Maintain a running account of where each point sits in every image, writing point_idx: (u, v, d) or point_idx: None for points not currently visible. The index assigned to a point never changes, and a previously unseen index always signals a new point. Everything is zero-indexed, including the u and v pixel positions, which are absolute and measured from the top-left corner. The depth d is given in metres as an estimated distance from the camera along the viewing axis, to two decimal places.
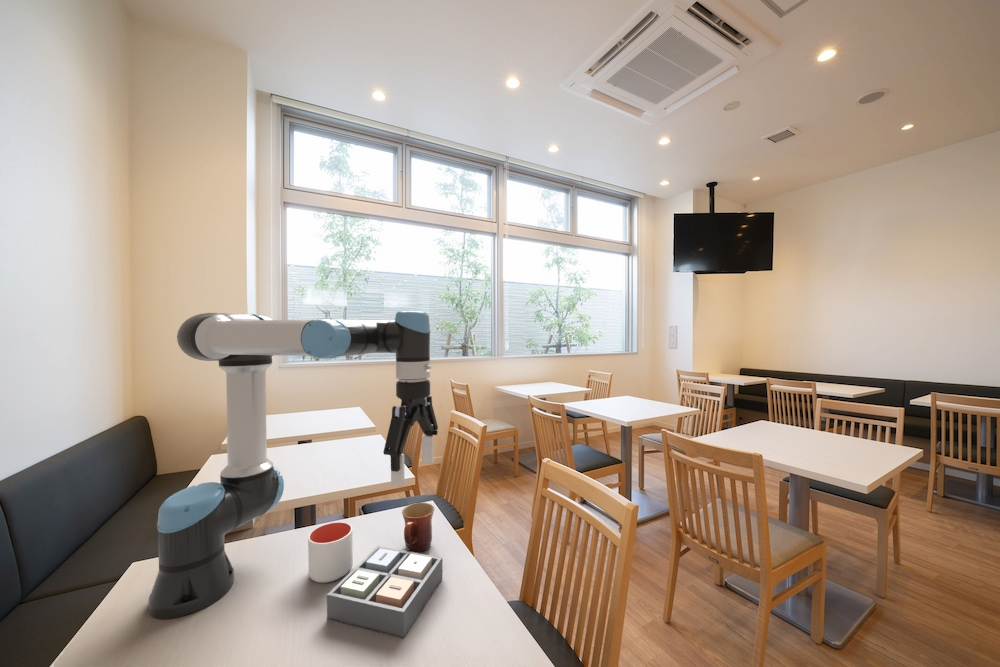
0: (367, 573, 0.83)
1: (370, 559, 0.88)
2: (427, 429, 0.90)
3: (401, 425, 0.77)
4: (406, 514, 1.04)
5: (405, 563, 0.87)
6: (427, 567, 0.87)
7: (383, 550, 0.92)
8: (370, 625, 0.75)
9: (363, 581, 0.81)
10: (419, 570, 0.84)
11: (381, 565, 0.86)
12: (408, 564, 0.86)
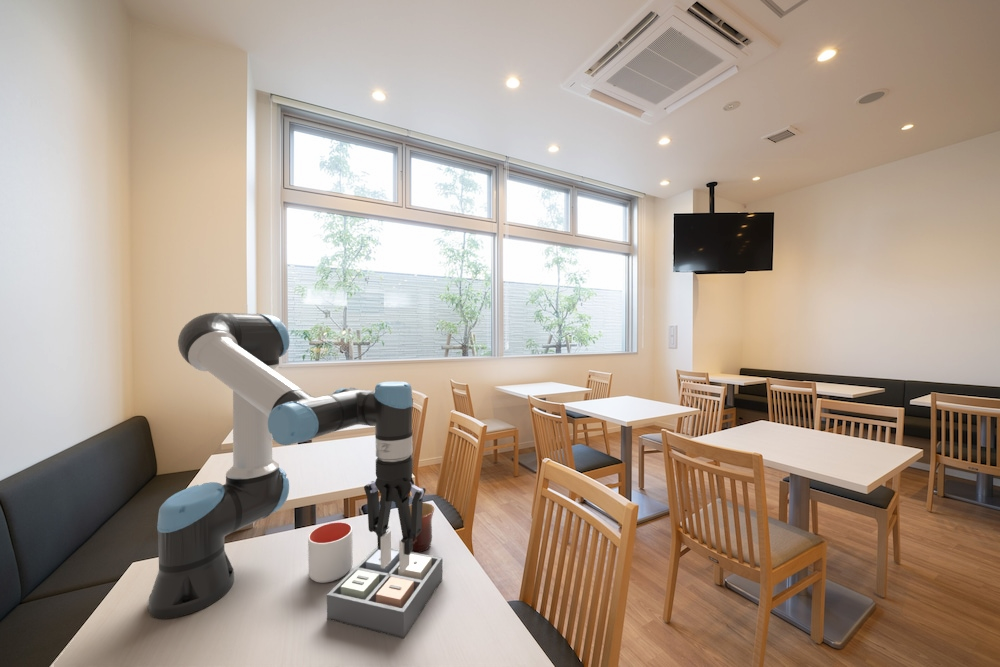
0: (367, 573, 0.83)
1: (370, 559, 0.88)
2: None
3: (369, 503, 0.79)
4: None
5: None
6: (427, 567, 0.87)
7: None
8: (370, 625, 0.75)
9: (363, 581, 0.81)
10: (419, 570, 0.84)
11: None
12: None
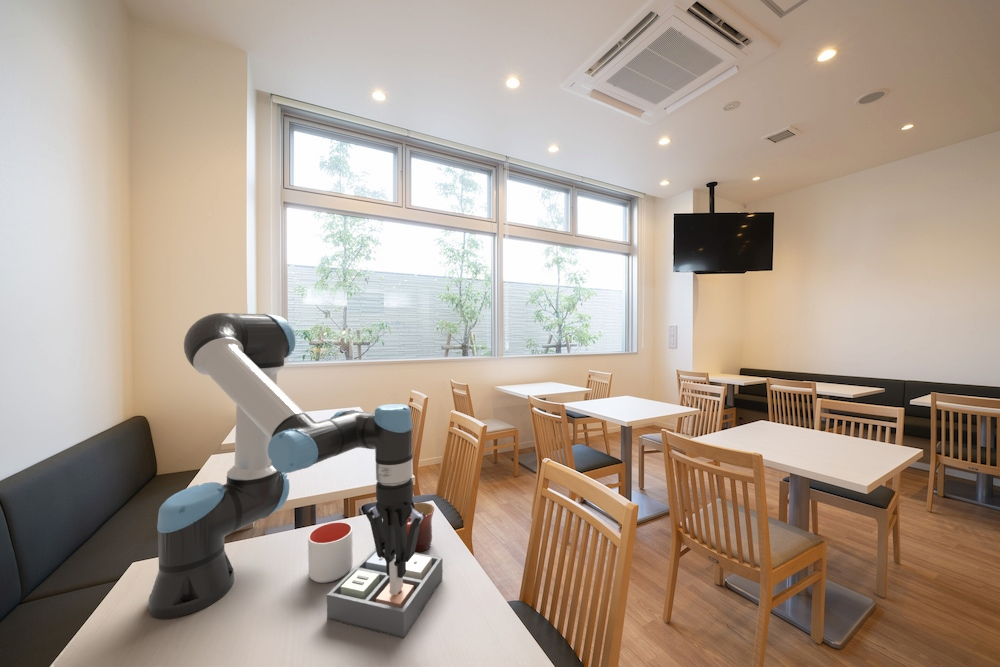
0: (367, 573, 0.83)
1: (370, 559, 0.88)
2: None
3: (373, 529, 0.78)
4: None
5: None
6: (427, 567, 0.87)
7: None
8: (370, 625, 0.75)
9: (363, 581, 0.81)
10: (419, 570, 0.84)
11: (381, 565, 0.86)
12: (408, 564, 0.86)
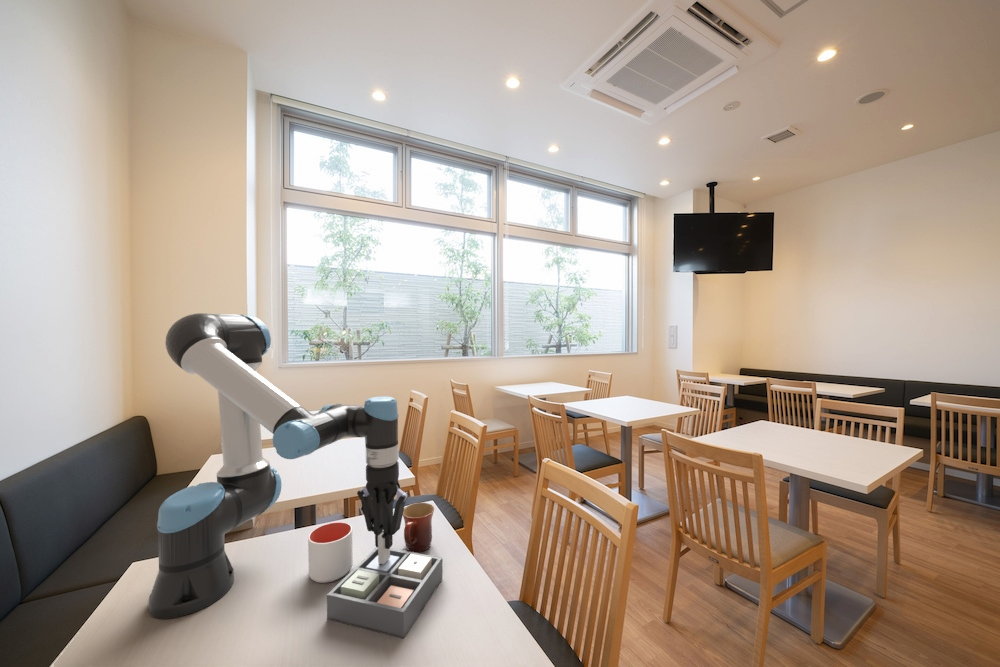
0: (367, 573, 0.83)
1: (370, 564, 0.88)
2: None
3: (363, 506, 0.89)
4: (406, 514, 1.04)
5: (405, 563, 0.87)
6: (427, 567, 0.87)
7: None
8: (370, 625, 0.75)
9: (363, 581, 0.81)
10: (419, 570, 0.84)
11: (381, 570, 0.86)
12: (408, 564, 0.86)
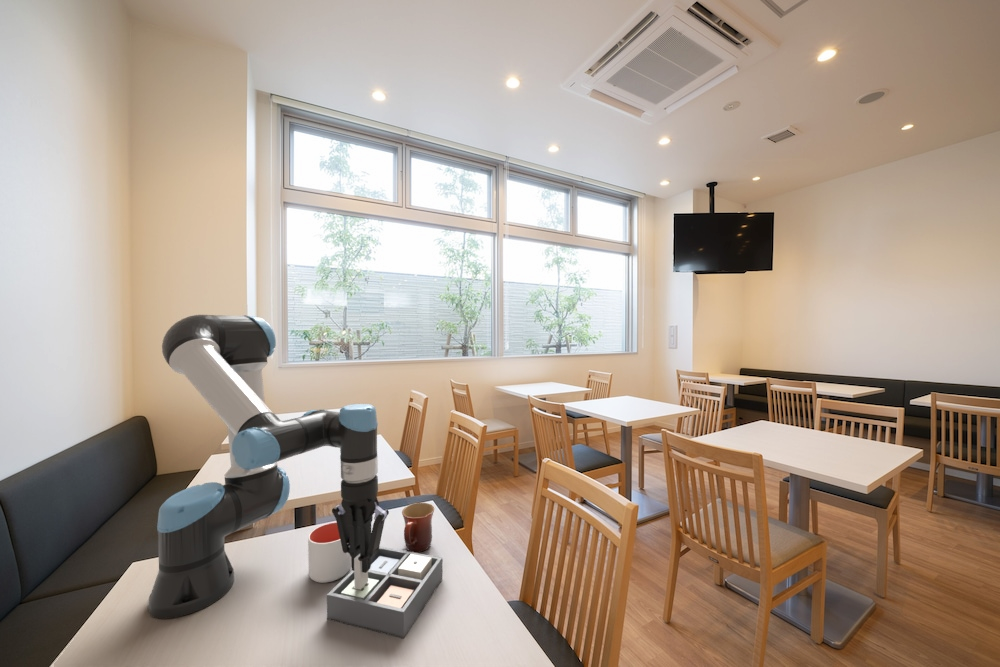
0: None
1: (370, 567, 0.88)
2: None
3: (339, 525, 0.81)
4: (406, 514, 1.04)
5: (405, 563, 0.87)
6: (427, 567, 0.87)
7: (383, 558, 0.92)
8: (370, 625, 0.75)
9: (363, 587, 0.81)
10: (419, 570, 0.84)
11: None
12: (408, 564, 0.86)
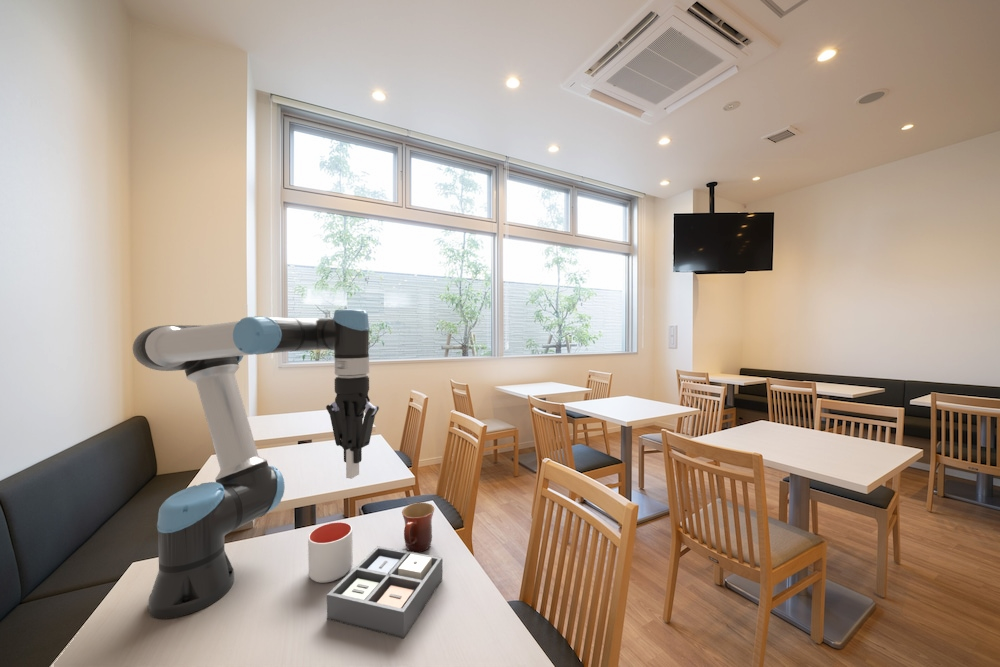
0: (367, 581, 0.83)
1: (370, 567, 0.88)
2: None
3: (332, 420, 0.87)
4: (406, 514, 1.04)
5: (405, 563, 0.87)
6: (427, 567, 0.87)
7: (383, 558, 0.92)
8: (370, 625, 0.75)
9: (363, 590, 0.81)
10: (419, 570, 0.84)
11: None
12: (408, 564, 0.86)
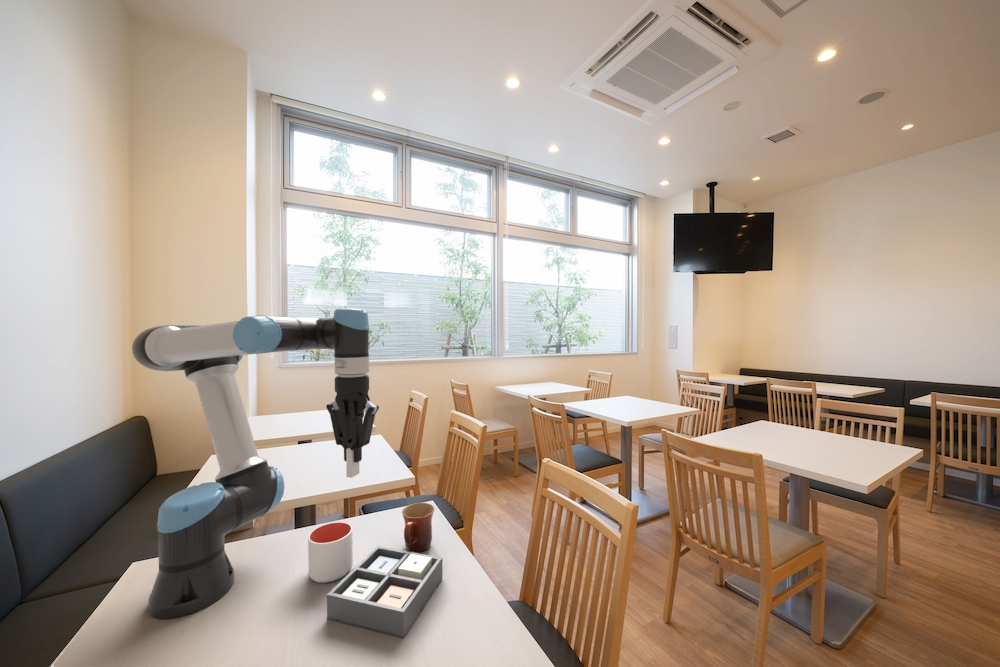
0: (367, 581, 0.83)
1: (370, 567, 0.88)
2: None
3: (332, 419, 0.87)
4: (406, 514, 1.04)
5: (405, 563, 0.87)
6: (427, 567, 0.87)
7: (383, 558, 0.92)
8: (370, 625, 0.75)
9: (363, 590, 0.81)
10: (419, 570, 0.84)
11: None
12: (408, 564, 0.86)
